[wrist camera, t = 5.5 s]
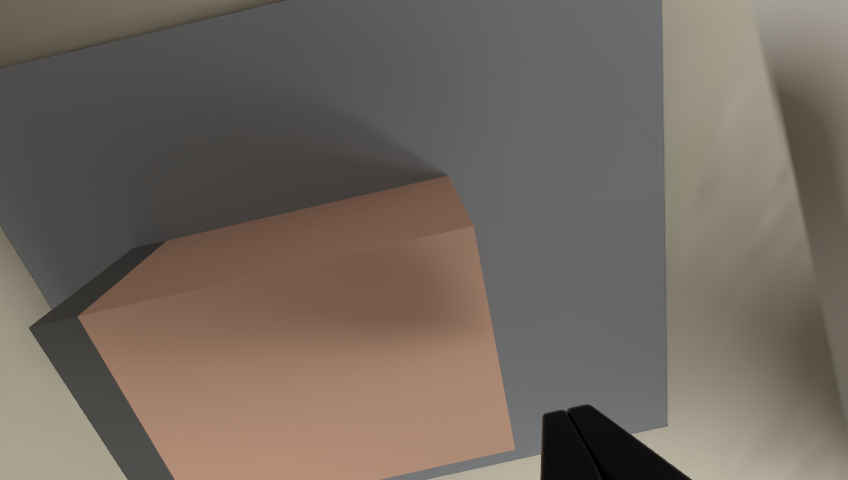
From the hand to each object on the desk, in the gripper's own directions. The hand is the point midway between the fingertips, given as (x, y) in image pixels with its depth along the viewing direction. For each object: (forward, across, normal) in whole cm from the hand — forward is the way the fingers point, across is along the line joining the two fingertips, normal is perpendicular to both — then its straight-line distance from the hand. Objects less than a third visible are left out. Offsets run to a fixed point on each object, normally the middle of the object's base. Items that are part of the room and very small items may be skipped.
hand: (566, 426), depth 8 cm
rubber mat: (+7, +4, 0) cm, 8 cm away
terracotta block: (+4, +1, 0) cm, 4 cm away
